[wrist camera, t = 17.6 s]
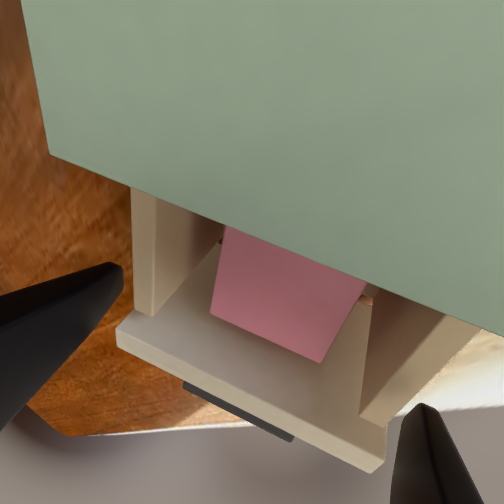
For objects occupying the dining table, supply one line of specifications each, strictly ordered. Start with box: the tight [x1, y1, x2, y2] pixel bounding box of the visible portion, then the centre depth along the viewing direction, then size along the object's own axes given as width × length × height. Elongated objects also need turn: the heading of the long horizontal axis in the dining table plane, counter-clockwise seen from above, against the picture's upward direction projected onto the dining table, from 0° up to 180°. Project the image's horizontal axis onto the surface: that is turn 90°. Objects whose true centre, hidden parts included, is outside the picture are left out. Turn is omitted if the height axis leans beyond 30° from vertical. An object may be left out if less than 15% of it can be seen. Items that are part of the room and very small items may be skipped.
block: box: [210, 225, 368, 363], centre depth 12 cm, size 4×4×4 cm
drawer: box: [115, 187, 482, 473], centre depth 13 cm, size 18×10×7 cm, turn 168°
